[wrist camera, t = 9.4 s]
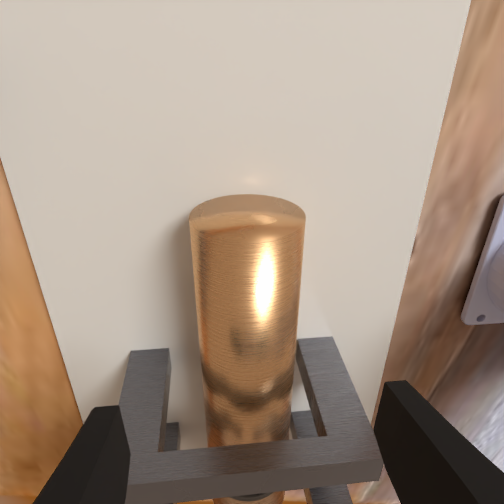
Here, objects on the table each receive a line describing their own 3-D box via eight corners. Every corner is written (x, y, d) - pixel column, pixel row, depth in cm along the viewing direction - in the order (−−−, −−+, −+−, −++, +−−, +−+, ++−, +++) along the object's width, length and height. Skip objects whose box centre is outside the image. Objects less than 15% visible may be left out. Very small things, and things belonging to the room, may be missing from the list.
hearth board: (492, -121, 13) (500, -125, 13) (366, 426, 27) (368, 432, 26) (-88, -150, 11) (-98, -156, 11) (95, 452, 25) (94, 458, 24)
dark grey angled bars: (322, 409, 25) (363, 536, 18) (320, 424, 25) (358, 552, 19) (145, 424, 23) (124, 565, 17) (148, 440, 24) (129, 581, 18)
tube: (172, 203, 16) (213, 253, 12) (271, 187, 18) (332, 226, 14) (199, 469, 25) (228, 543, 21) (264, 439, 26) (300, 504, 23)
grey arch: (332, 336, 22) (385, 458, 15) (329, 356, 22) (378, 480, 16) (130, 350, 21) (98, 487, 14) (134, 371, 21) (106, 510, 15)
